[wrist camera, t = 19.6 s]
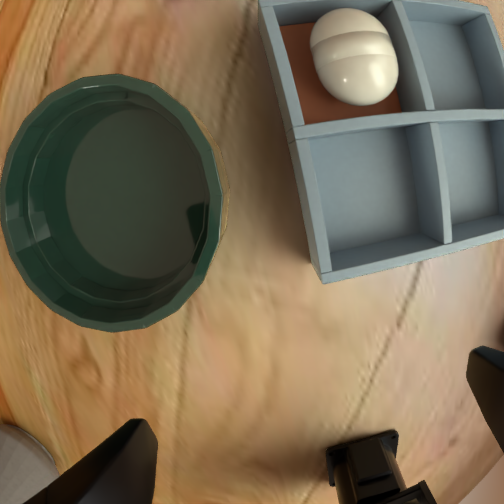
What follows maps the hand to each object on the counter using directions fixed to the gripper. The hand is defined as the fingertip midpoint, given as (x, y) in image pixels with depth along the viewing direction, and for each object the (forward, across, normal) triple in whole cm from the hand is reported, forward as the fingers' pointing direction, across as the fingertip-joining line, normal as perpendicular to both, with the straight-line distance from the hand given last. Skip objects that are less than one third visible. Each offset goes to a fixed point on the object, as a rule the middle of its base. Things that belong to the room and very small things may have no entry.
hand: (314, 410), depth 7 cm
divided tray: (+12, -9, -7) cm, 17 cm away
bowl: (+12, +8, -6) cm, 16 cm away
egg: (+11, -6, -10) cm, 16 cm away
